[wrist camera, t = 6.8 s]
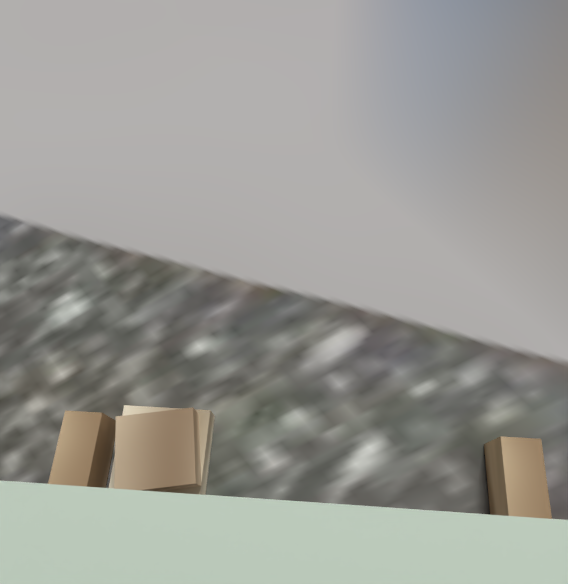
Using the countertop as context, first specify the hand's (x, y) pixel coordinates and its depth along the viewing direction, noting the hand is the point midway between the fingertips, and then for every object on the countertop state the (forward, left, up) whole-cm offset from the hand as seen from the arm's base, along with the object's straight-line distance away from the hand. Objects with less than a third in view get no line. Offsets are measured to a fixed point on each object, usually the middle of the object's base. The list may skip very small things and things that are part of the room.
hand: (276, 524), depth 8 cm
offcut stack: (-5, +2, -13) cm, 15 cm away
